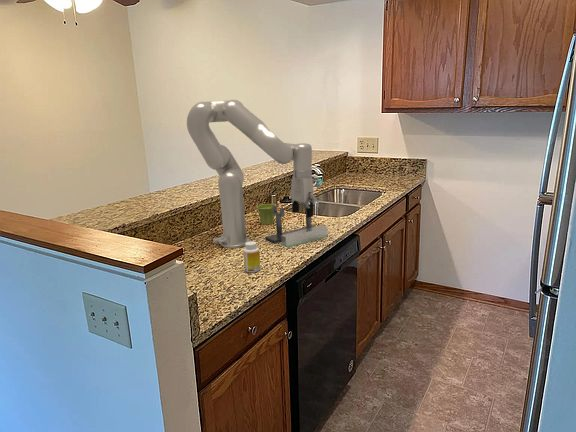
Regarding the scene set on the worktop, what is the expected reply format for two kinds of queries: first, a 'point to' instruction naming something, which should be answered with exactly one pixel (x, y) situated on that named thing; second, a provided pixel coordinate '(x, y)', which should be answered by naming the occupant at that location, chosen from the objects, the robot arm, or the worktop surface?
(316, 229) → the pale grey bar
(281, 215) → the hook rack
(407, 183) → the worktop surface
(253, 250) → the supplement bottle
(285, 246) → the rubber mat
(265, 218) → the plant pot
